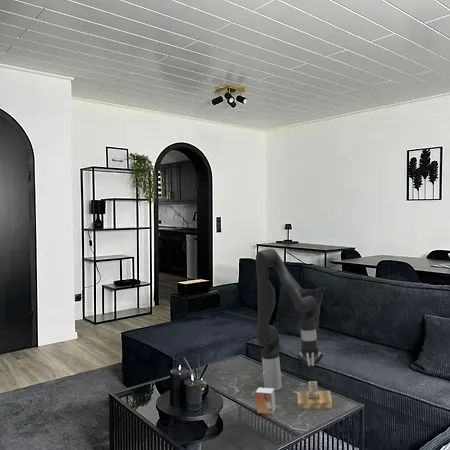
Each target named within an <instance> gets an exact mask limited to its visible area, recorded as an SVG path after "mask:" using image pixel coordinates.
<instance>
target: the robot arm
mask: <svg viewBox="0 0 450 450" xmlns="http://www.w3.org/2000/svg"><path fill="white" fill-rule="evenodd" d="M255 268H256V279H257V281H256V282H257V325H256V333H255V334H256V340H257V343H258V344H259V345H260V346H261V347H263V349H262V350H261V353H260V354H261V361H262V362H261V363H262V379H263V388H274V392H277V391H279V390H281V389H282V388H283V382H282V373H281V372H282V371H281V363H280V355H279V353H280V350H281V349H280V348H281V345H280V334H279V331H278V328H277V327H276V326H274V325H272V324H270V320H271V318H272V315H273V312H274V310H275V308H276V307H275V306H276V291H275V288H274V286H273V285H272V283H271V280H270V279H269V268H274V269H275V271H276V272H277V273H278V276H279V280H280V285H281V287H282V288H283V289H284V291H285V292H286V293H287V294H288V295H289V297H290V299H291V301H292V303H293V306H294V308H295V309H296V311H298V313H300V314H303V315H302V316H301V317H300V319H299V325H300V343H301V350H300V351H299V352H298V353H297V358H298V359H299V361H300V362H302V363H303V364H304V365H306V366H307V369H308V372H309V374H314V372H315V365H318V364H319V362H320V361H321V360H322V359H323V357H324V352H321V351H320V350H319V348H318V340H317V339H318V335H317V330H316V322H315V320H316V317H317V310H318V302H317V300H316V298H315V297H314V296H312V295H306V296H304V297H302V294H303V291H304V289H303V288H302V286H301V285H300V284H299V283H298V282H297V281H296V279H295V278H294V277H293V276H292V274H291V273H290V272H289V270H288V268H287V266H286V264H285V263H284V261H283V260H282V258H281V255H279V253H278V252H277V251H276V250H275V249H273V248H268V249H263V250H259V251H258V252H256V255H255Z"/></svg>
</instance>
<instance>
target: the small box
mask: <svg viewBox="0 0 450 450" xmlns="http://www.w3.org/2000/svg"><path fill="white" fill-rule="evenodd" d="M275 396H276V395H275V391H274V388H264V387H259V386H258V388H257V389H256V391H255V401H256V402H255V403H256V412H257V414H266V415H274V414H275V411H276V409H277V408H276V407H277V406H276V397H275Z"/></svg>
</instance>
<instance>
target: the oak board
mask: <svg viewBox="0 0 450 450" xmlns="http://www.w3.org/2000/svg"><path fill="white" fill-rule="evenodd" d="M331 395H332V394H331V390H318V398H319V399H310V393H309V390H307V391H306V390H305V391H297V409H298V410H321V409H322V410H325V409H326V410H328V409H329V410H330V409H331V410H332V409H333V401H332V396H331Z"/></svg>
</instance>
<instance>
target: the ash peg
mask: <svg viewBox="0 0 450 450" xmlns="http://www.w3.org/2000/svg"><path fill="white" fill-rule="evenodd" d="M308 391H309V393H310V399H319V398H318V391H319V389H318V381H316V380H314V381H313V380H311V381H308Z"/></svg>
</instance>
